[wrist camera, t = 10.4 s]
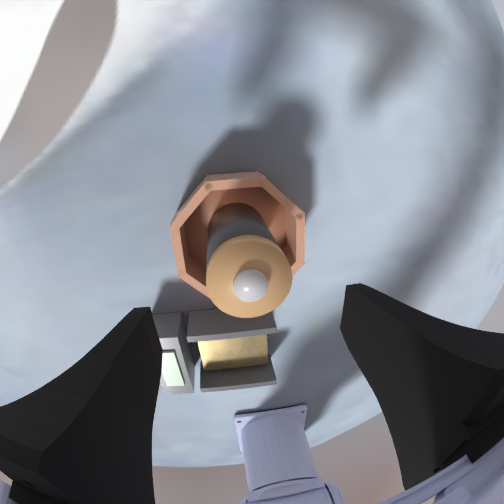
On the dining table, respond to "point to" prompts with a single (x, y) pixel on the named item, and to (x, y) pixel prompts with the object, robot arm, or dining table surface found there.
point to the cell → (244, 263)
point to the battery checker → (207, 329)
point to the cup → (225, 192)
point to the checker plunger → (234, 352)
